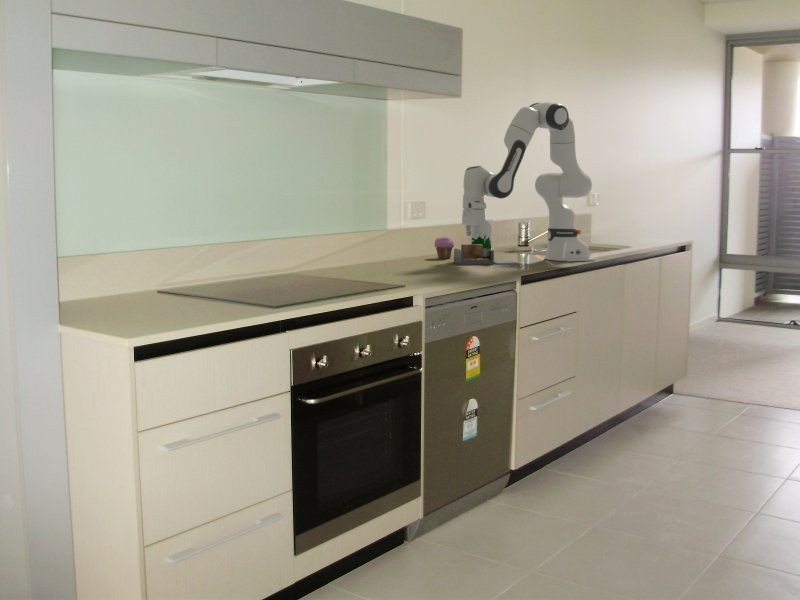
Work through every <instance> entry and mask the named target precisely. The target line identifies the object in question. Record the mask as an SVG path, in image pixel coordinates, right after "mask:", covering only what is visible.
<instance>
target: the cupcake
mask: <svg viewBox="0 0 800 600" xmlns="http://www.w3.org/2000/svg"><path fill="white" fill-rule="evenodd" d="M454 242H455V241H453V240H452V239H451V237H448V236H440V237H437V238H436V239H435V241H434V247H435V250H436V253H437V258H438V259H444V260H445V259H450V258H451V257H452V252H453V249H454V246H455V243H454Z"/></svg>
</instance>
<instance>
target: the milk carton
mask: <svg viewBox="0 0 800 600" xmlns="http://www.w3.org/2000/svg"><path fill="white" fill-rule="evenodd" d="M493 221H494V220H493V219H491V218H490V219H489V218H488V219H487V218H486V217H485V218H484V225H483V227H479V232H478V237H473V233H474V226H471V236H470V244H482V245H483V248H486V249H490V250H492V241H493V238H492V237H493V224H494V223H493Z"/></svg>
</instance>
